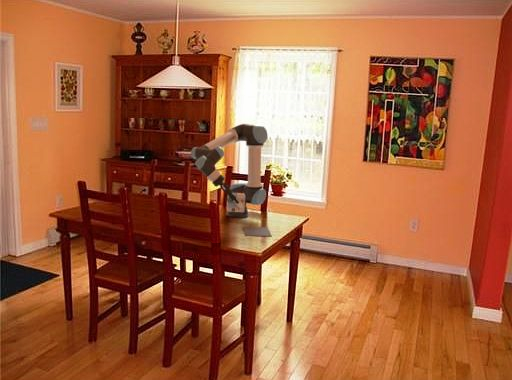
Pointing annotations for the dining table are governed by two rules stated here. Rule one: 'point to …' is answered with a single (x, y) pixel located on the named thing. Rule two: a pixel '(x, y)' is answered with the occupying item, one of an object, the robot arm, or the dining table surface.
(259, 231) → the mat
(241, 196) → the light bulb box
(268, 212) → the dining table surface
